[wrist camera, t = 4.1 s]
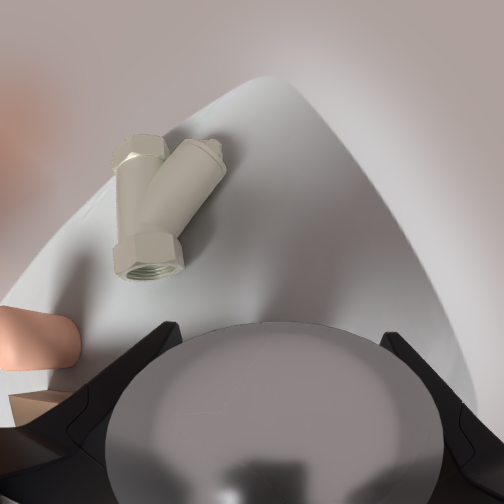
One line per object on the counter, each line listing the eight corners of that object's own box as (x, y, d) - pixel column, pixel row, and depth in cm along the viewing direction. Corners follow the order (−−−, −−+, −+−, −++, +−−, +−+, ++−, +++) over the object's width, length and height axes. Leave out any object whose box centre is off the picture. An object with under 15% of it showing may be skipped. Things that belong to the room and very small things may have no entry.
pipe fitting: (222, 150, 19) (129, 173, 19) (215, 111, 15) (106, 141, 15) (246, 262, 17) (136, 285, 16) (243, 240, 13) (106, 271, 13)
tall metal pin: (317, 386, 14) (432, 544, 1) (250, 398, 14) (158, 579, 2) (306, 321, 15) (425, 282, 2) (239, 334, 15) (77, 343, 3)
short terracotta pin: (84, 367, 15) (25, 373, 10) (49, 367, 15) (-8, 369, 10) (78, 313, 16) (18, 302, 11) (44, 317, 16) (-13, 308, 11)
